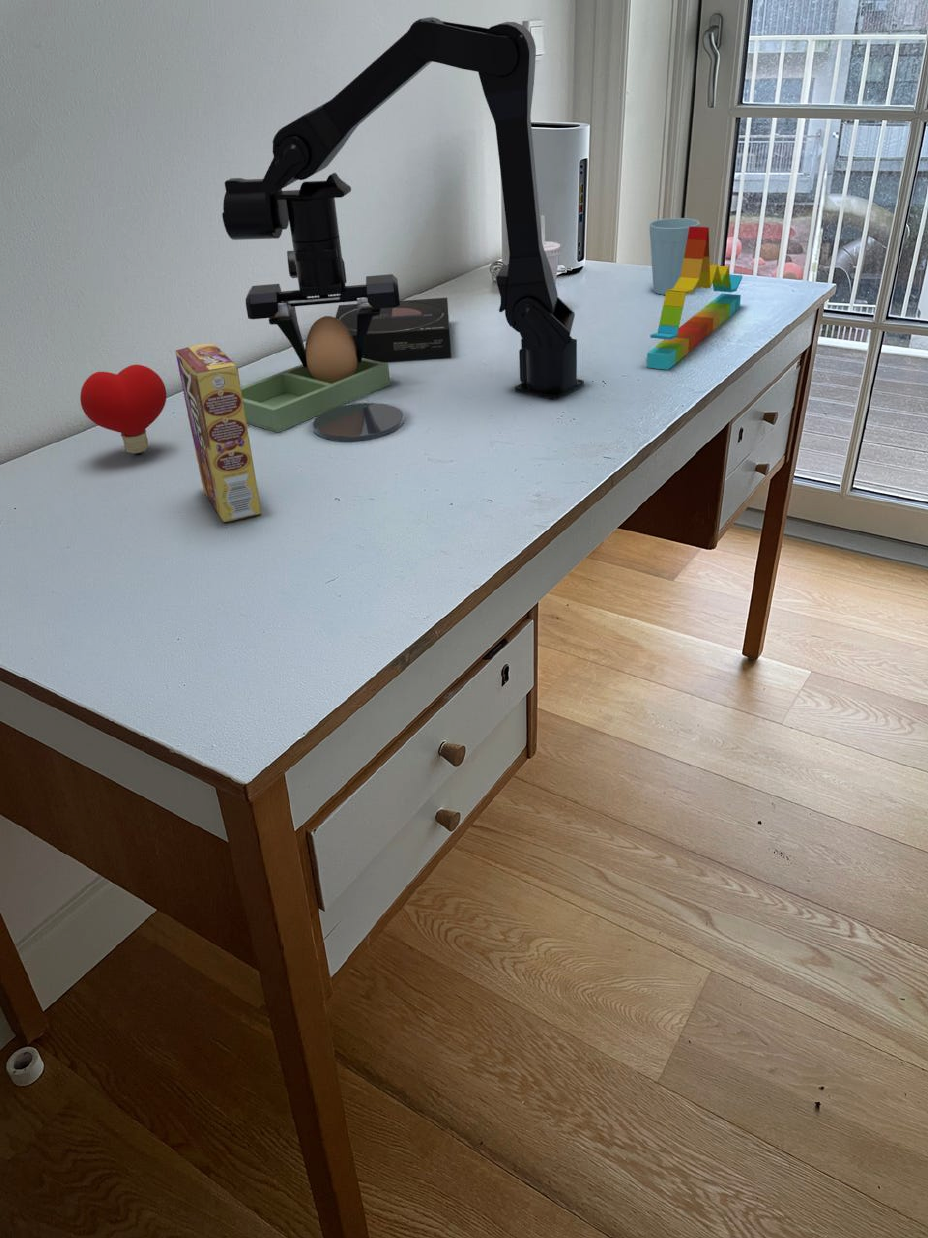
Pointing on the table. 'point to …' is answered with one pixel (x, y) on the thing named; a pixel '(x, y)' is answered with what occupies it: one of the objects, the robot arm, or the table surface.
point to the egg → (330, 350)
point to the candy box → (219, 430)
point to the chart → (692, 276)
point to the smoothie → (550, 250)
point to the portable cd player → (404, 330)
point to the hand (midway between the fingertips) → (333, 364)
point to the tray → (307, 394)
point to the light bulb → (125, 403)
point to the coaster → (358, 422)
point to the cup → (668, 250)
